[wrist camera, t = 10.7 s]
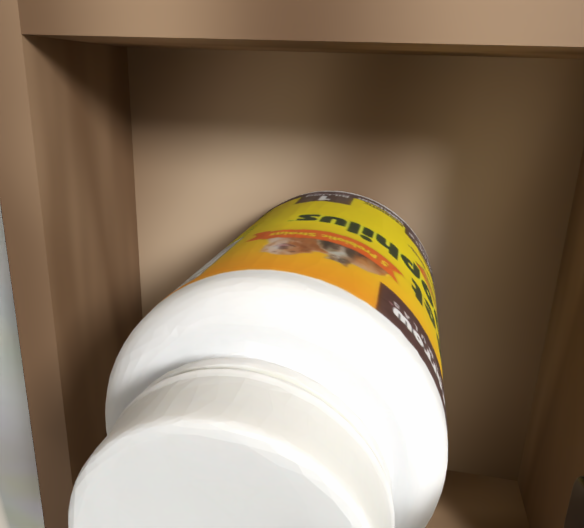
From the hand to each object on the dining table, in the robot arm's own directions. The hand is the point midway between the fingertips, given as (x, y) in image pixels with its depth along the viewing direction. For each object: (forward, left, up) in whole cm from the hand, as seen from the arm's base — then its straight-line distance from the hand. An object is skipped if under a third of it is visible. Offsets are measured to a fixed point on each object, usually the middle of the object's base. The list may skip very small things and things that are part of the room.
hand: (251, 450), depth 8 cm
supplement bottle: (0, 0, -8) cm, 9 cm away
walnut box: (0, 0, -9) cm, 9 cm away
